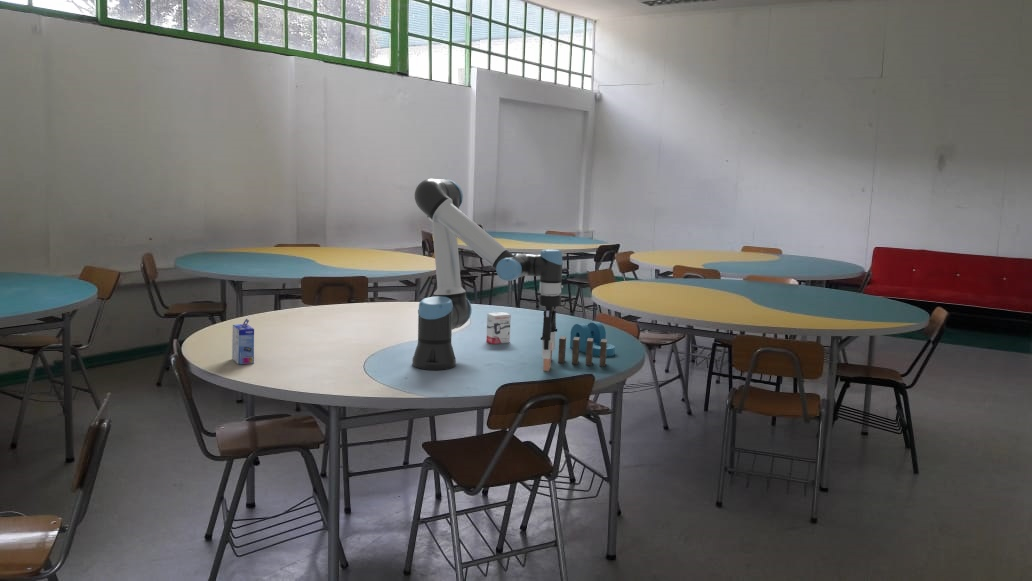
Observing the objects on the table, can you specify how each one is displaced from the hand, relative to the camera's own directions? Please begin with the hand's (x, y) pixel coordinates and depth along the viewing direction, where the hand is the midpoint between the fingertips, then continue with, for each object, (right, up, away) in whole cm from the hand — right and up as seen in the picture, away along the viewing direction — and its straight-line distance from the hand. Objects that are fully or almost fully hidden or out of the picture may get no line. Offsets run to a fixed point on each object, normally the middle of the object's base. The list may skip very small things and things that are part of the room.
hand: (548, 354), depth 264 cm
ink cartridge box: (-105, -2, -5) cm, 105 cm away
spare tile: (-1, -5, +1) cm, 5 cm away
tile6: (+20, -5, +10) cm, 23 cm away
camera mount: (+19, -2, +32) cm, 37 cm away
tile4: (+10, -4, +12) cm, 16 cm away
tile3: (+5, -4, +13) cm, 14 cm away
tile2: (0, -3, +13) cm, 14 cm away
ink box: (-19, +1, +41) cm, 45 cm away
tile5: (+15, -4, +11) cm, 19 cm away
